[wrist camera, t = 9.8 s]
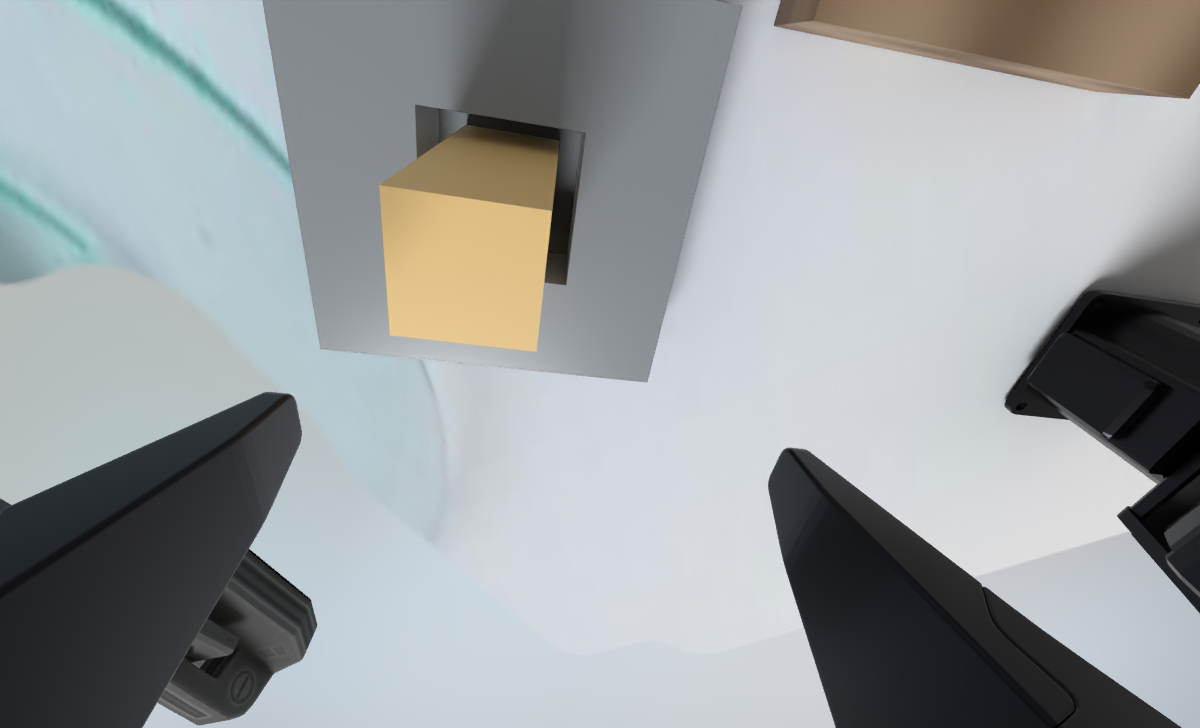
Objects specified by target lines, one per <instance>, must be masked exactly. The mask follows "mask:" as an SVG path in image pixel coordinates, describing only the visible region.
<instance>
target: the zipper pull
mask: <svg viewBox="0 0 1200 728" xmlns="http://www.w3.org/2000/svg"><path fill="white" fill-rule="evenodd" d="M9 506H11V505H10V504H9V503H7V502H5V501H4V500H2V499H0V512H1V510H3V509H5V508H7V507H9ZM316 628H317V622H316V619H315V614H314V611H313V607H312V603H311V599H310V598H309V597H308V596H306V595H305V594H304V593H303V592H302V591H300V590H299V589H298V588H296V587H295V586H294V585H293V584H292V583H290V582H289V581H288V580H287V579H286V578H284V577H283V576H282V575H281V574H279V573H278V572H277V571H276V570H275V569H273V568H272V567H271V566H270V565H268V564H267V563H266V562H265V561H263V560H262V559H261V558H260V557H259V556H257V555H256V554H255V553H253V552H252V551H251V550H250V549H248V551H247V553H246V554H245V556H244V558H243V559H242V561H241V563H240V564H239V566H238V568H237V569H236V571H235V573H234V574H233V576H232V578H231V579H230V581H229V583H228V584H227V586H226V588H225V590H224V591H223V593H222V595H221V596H220V598H219V600H218V601H217V603H216V605H215V606H214V608H213V610H212V611H211V613H210V615H209V616H208V618H207V620H206V621H205V623H204V625H203V626H202V628H201V630H200V632H199V633H198V635H197V637H196V638H195V640H194V642H193V643H192V645H191V647H190V648H189V650H188V652H187V653H186V655H185V657H184V658H183V660H182V662H181V663H180V665H179V667H178V668H177V670H176V672H175V674H174V675H173V677H172V679H171V680H170V682H169V684H168V685H167V687H166V689H165V690H164V692H163V694H162V695H161V697H160V699H159V700H158V703H159V704H161V705H163V706H164V707H166V708H168V709H169V710H171V711H173V712H175V713H177V714H178V715H180V716H182V717H184V718H186V719H188V720H189V721H191V722H193V723H195V724H196V725H204V724H209V723H215V722H220V721H225V720H231V719H233V718H237V717H240V716H242V715H243V714H245V712H247V710H248V709H249V708H250V707H251V706H252V705H253V703H254V702H255V701H256V699H257V698H258V696H259V695H260V693H261V692H262V690H263V689H264V687H265V685H266V684H267V683H268V681H269V680H270V678H271V677H272V675H273V674H274V673H275V672H278V671H280V670H282V669H284V668H286V667H288V666H290V665H292V664H295V663H297V662H299V661H301V660H302V659H303V657H304V655H305V653H306V650H307V648H308V646H309V644H310V641H311V639H312V637H313V635H314V632H315V630H316Z"/></svg>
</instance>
